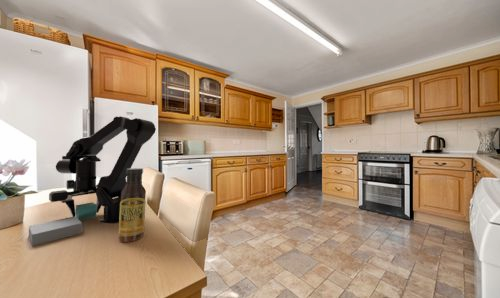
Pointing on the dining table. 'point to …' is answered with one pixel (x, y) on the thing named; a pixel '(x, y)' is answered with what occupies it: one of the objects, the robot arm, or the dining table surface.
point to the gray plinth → (54, 230)
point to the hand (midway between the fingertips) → (85, 215)
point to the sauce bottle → (132, 207)
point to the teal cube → (85, 211)
